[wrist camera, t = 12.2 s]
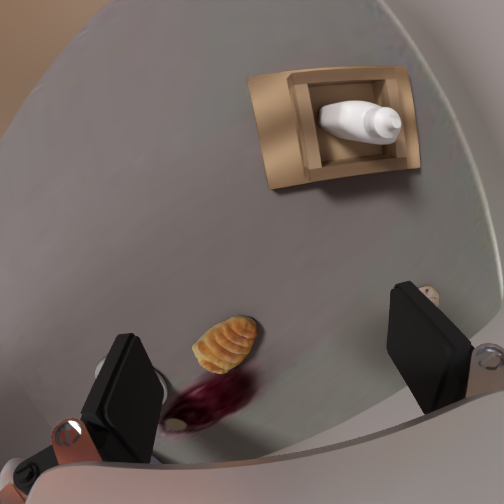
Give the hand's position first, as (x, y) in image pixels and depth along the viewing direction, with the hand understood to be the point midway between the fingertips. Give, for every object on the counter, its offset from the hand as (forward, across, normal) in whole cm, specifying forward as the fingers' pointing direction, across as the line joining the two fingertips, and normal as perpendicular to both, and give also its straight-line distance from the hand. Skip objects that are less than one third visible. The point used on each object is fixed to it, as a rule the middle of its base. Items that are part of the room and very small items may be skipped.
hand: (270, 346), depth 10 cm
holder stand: (+24, -12, -7) cm, 28 cm away
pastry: (+26, +6, +18) cm, 32 cm away
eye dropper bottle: (+23, -11, -7) cm, 26 cm away
